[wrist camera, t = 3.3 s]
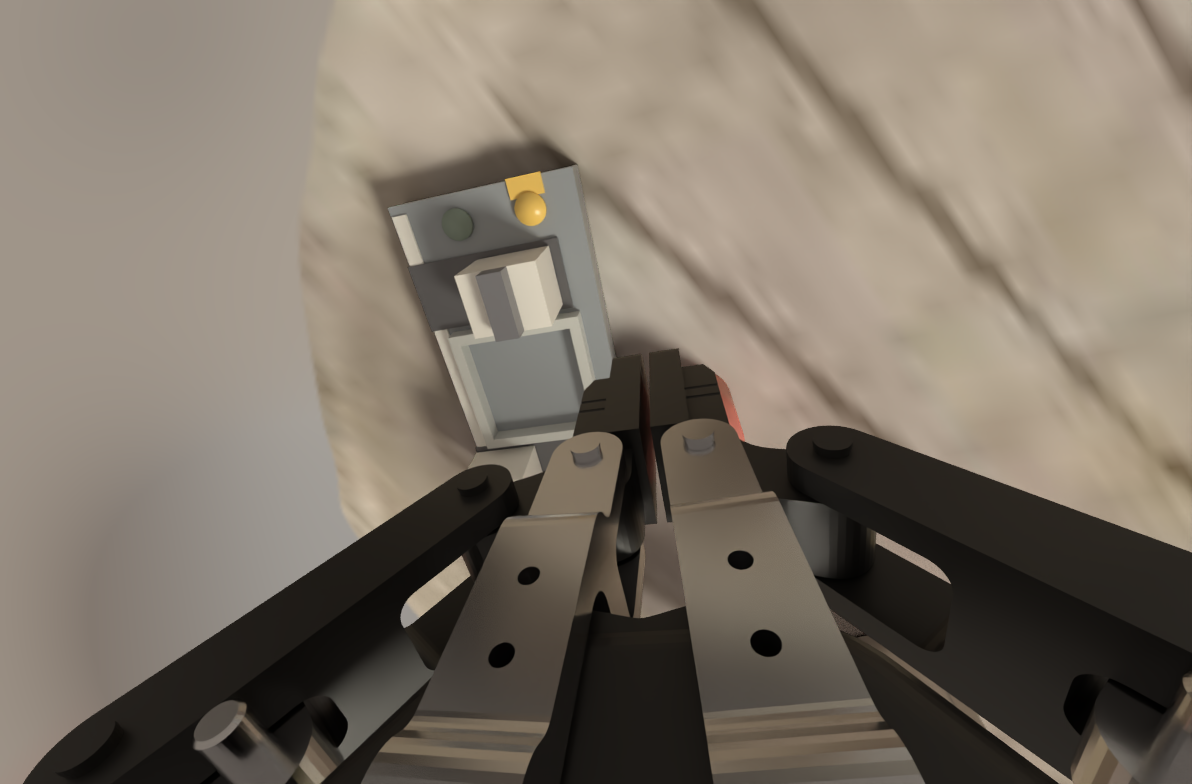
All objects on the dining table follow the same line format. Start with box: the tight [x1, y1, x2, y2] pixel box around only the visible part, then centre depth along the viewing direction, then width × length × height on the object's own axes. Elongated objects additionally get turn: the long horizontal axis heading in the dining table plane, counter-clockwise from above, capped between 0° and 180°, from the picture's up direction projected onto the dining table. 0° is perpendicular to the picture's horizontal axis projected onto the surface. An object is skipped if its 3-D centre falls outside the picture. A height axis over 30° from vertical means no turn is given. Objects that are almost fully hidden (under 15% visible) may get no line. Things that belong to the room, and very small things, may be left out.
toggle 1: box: [454, 246, 563, 342], centre depth 24 cm, size 4×3×4 cm
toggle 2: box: [467, 446, 542, 482], centre depth 30 cm, size 4×3×4 cm
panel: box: [388, 164, 616, 472], centre depth 30 cm, size 10×22×3 cm, turn 12°
